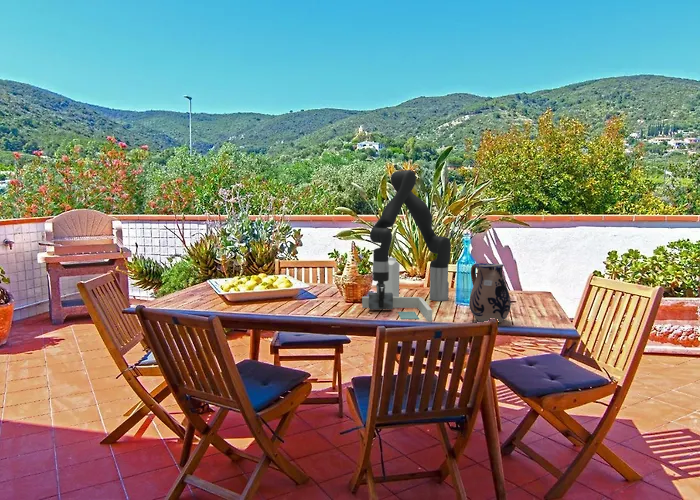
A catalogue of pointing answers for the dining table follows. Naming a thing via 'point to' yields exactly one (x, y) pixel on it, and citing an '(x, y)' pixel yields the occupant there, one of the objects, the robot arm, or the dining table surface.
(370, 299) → the bar
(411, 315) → the pad
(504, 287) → the ceramic pitcher
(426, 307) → the arena
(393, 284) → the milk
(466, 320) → the dining table surface
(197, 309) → the dining table surface
